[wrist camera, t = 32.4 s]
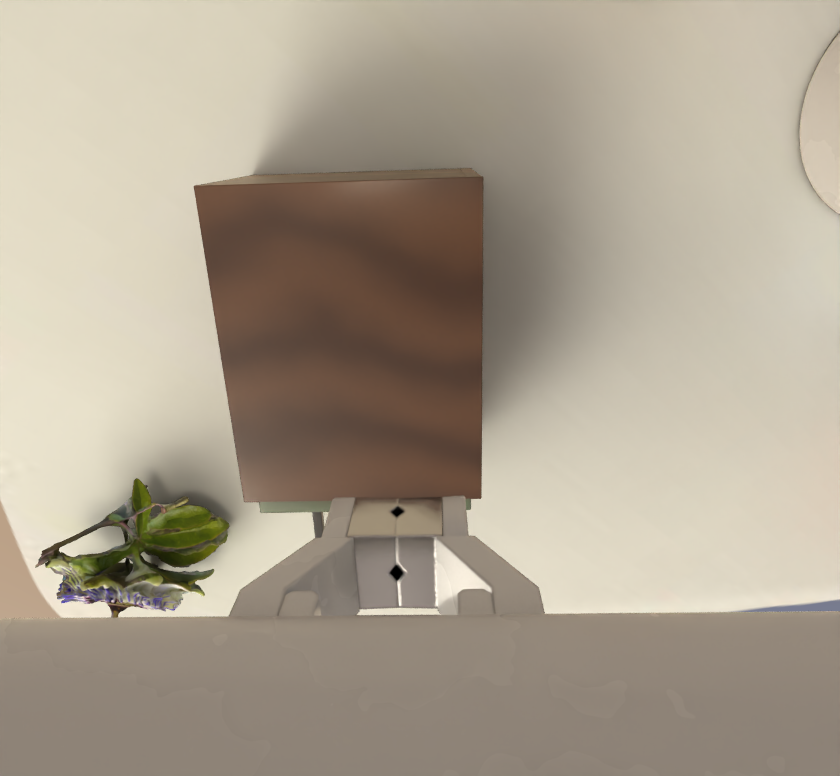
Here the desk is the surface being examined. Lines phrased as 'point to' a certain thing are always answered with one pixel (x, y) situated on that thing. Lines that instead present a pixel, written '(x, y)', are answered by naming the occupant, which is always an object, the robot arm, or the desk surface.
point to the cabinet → (350, 330)
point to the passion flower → (141, 581)
